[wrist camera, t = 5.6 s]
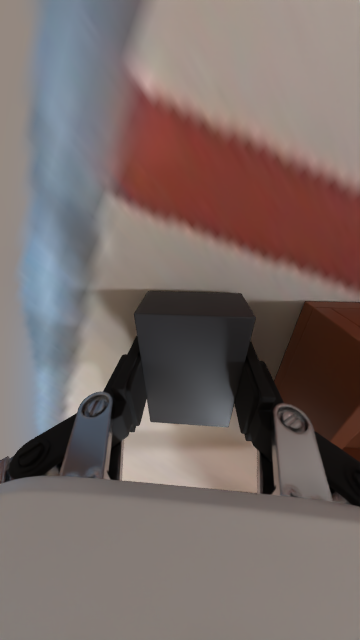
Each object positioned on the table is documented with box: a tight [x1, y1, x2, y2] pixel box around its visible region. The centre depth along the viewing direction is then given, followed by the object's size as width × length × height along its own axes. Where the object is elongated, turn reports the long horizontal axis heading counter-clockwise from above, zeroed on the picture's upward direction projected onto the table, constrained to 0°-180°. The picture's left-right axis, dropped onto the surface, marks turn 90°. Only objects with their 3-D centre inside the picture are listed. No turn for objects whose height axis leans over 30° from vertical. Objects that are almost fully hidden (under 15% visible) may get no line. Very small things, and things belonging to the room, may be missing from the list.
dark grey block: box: [134, 291, 256, 427], centre depth 10 cm, size 8×5×3 cm, turn 0°
